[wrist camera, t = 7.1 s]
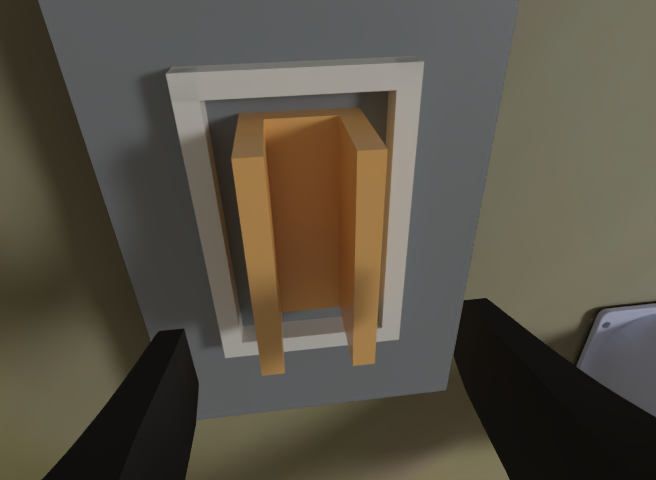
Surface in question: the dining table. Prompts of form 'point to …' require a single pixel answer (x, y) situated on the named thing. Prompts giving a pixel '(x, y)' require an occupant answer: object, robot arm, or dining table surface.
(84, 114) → the large grey panel
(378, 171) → the chute
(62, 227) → the dining table surface
